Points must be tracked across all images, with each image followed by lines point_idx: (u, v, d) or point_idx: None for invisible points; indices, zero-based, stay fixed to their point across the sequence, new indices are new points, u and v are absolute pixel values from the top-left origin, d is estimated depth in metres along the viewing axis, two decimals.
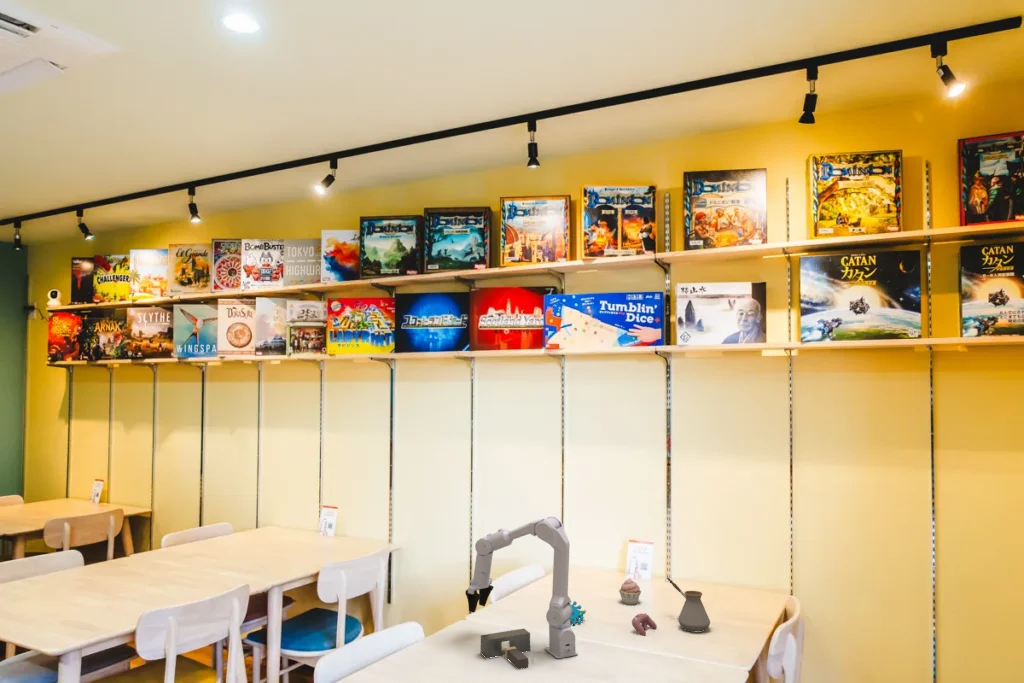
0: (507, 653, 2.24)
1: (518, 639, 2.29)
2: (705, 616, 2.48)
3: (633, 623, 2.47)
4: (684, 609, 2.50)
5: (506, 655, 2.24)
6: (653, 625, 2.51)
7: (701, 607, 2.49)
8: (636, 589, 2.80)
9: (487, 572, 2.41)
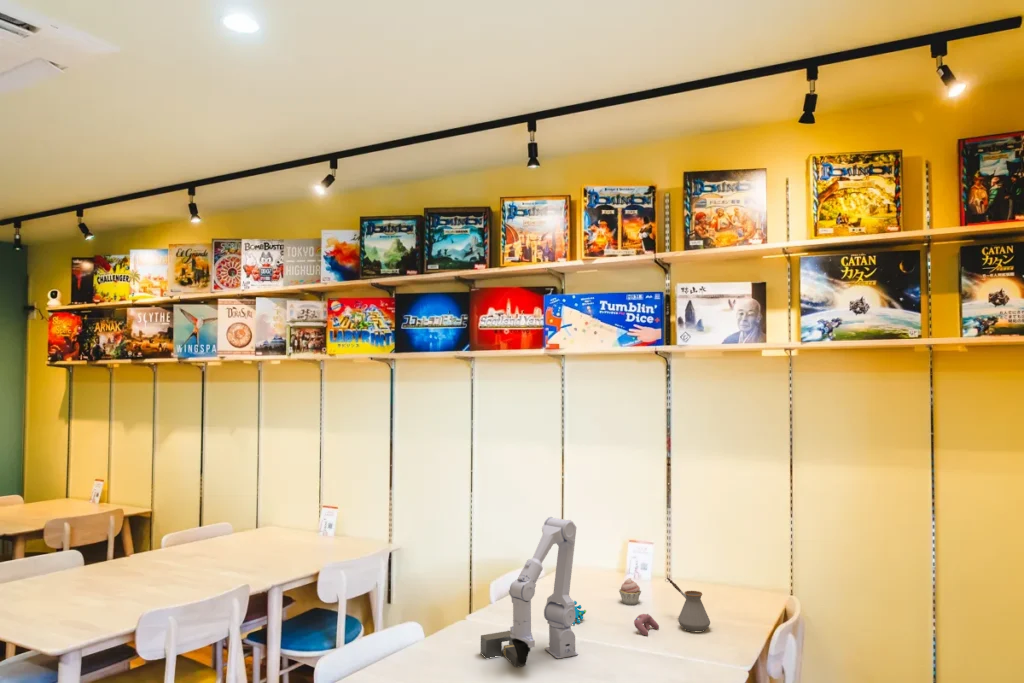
0: (505, 651, 2.26)
1: None
2: (705, 616, 2.48)
3: (635, 623, 2.46)
4: (684, 609, 2.50)
5: (504, 653, 2.26)
6: (655, 625, 2.50)
7: (701, 607, 2.49)
8: (636, 589, 2.80)
9: None
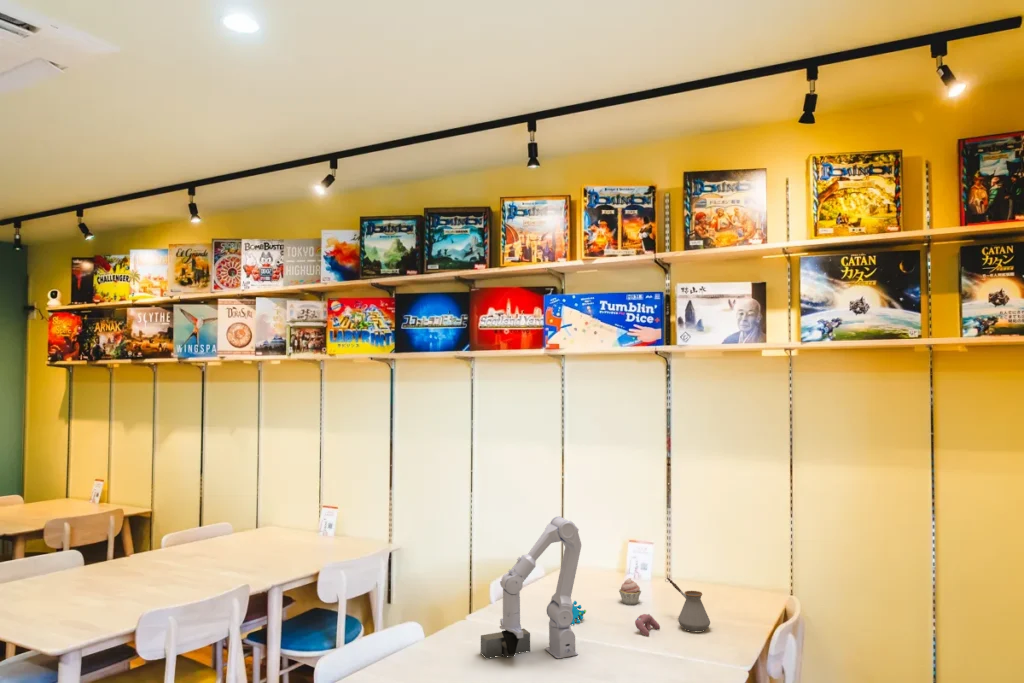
0: None
1: None
2: (705, 616, 2.48)
3: (636, 624, 2.46)
4: (684, 609, 2.50)
5: None
6: (656, 626, 2.50)
7: (701, 607, 2.49)
8: (636, 589, 2.80)
9: (519, 610, 2.25)
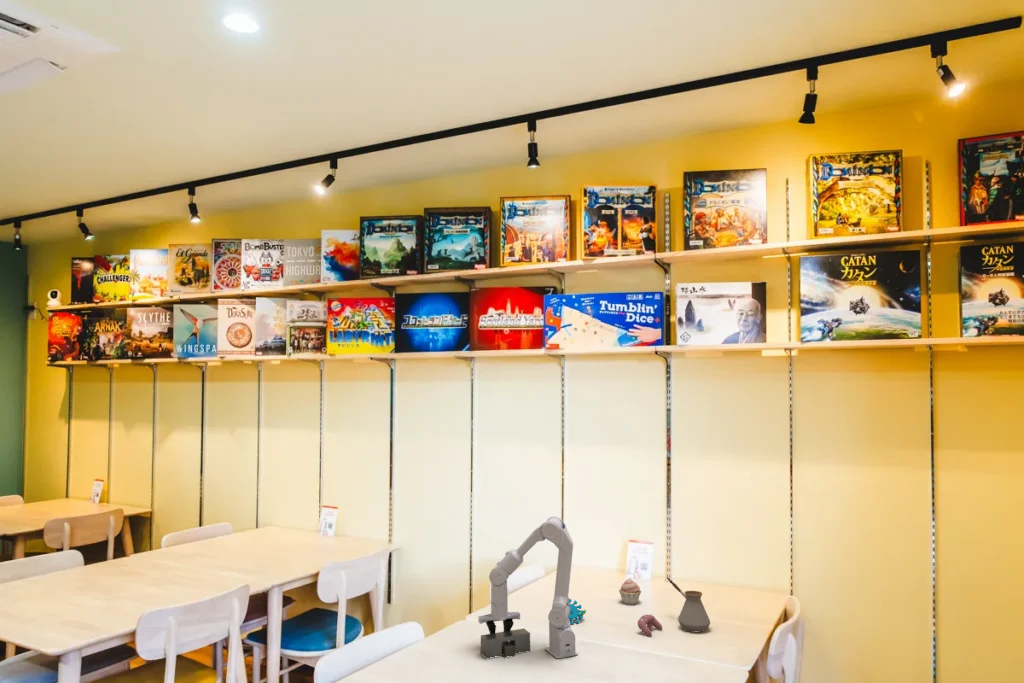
0: None
1: (518, 639, 2.29)
2: (705, 616, 2.48)
3: (639, 624, 2.46)
4: (684, 609, 2.50)
5: None
6: (659, 626, 2.49)
7: (701, 607, 2.49)
8: (636, 589, 2.80)
9: (505, 602, 2.34)
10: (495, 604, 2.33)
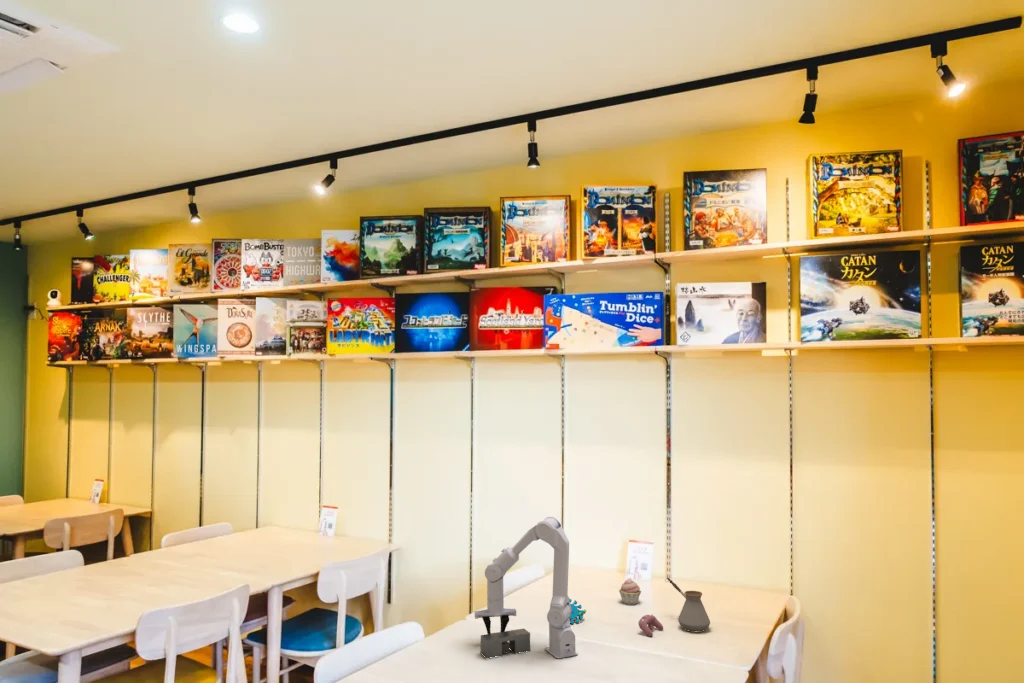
0: None
1: (518, 639, 2.29)
2: (705, 616, 2.48)
3: (640, 624, 2.45)
4: (684, 609, 2.50)
5: None
6: (660, 626, 2.49)
7: (701, 607, 2.49)
8: (636, 589, 2.80)
9: (501, 598, 2.37)
10: (490, 600, 2.36)
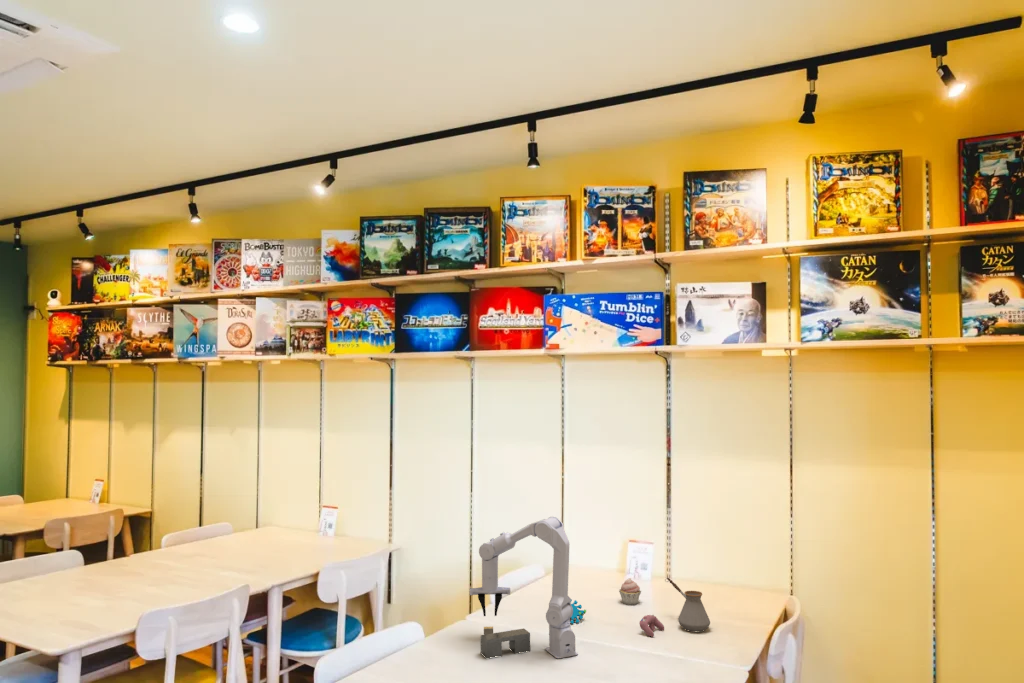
0: None
1: (518, 639, 2.29)
2: (705, 616, 2.48)
3: (641, 625, 2.45)
4: (684, 609, 2.50)
5: None
6: (661, 626, 2.49)
7: (701, 607, 2.49)
8: (636, 589, 2.80)
9: (494, 576, 2.42)
10: (484, 578, 2.42)
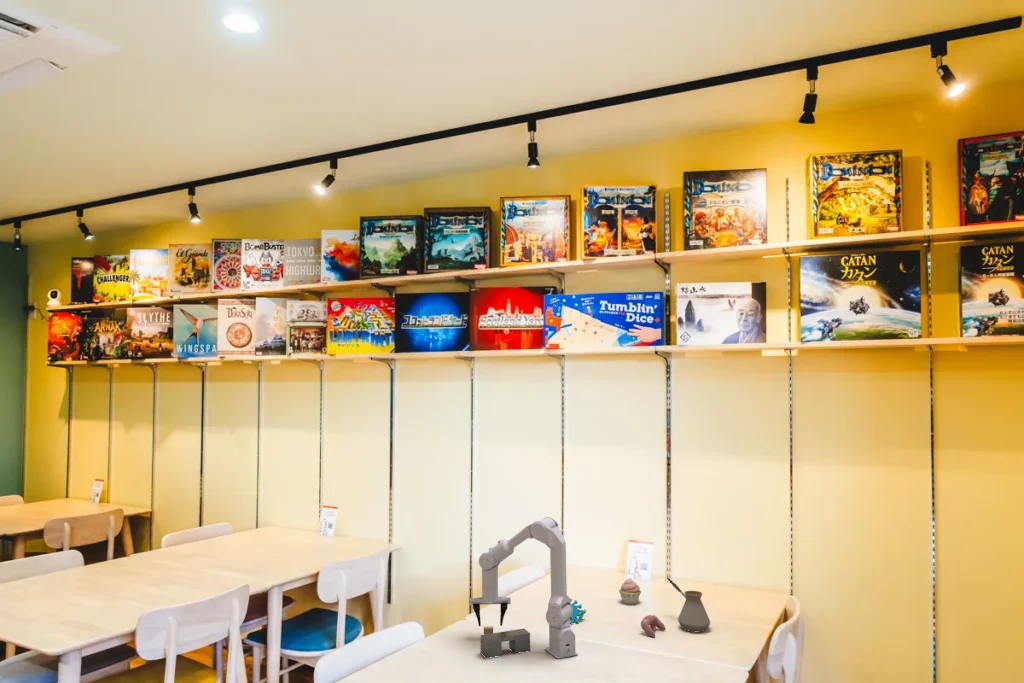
0: None
1: (518, 639, 2.29)
2: (705, 616, 2.48)
3: (642, 625, 2.45)
4: (684, 609, 2.50)
5: None
6: (662, 627, 2.49)
7: (701, 607, 2.49)
8: (636, 589, 2.80)
9: (494, 586, 2.41)
10: (484, 588, 2.41)
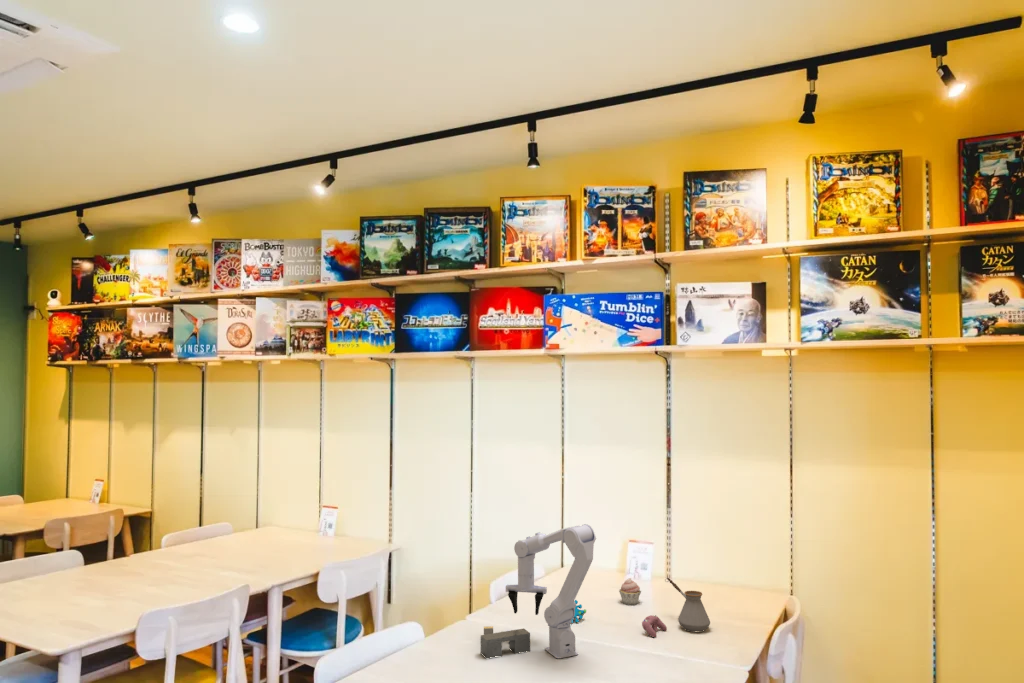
0: None
1: (518, 639, 2.29)
2: (705, 616, 2.48)
3: (643, 625, 2.45)
4: (684, 609, 2.50)
5: None
6: (663, 627, 2.48)
7: (701, 607, 2.49)
8: (636, 589, 2.80)
9: (529, 575, 2.39)
10: (519, 575, 2.40)
